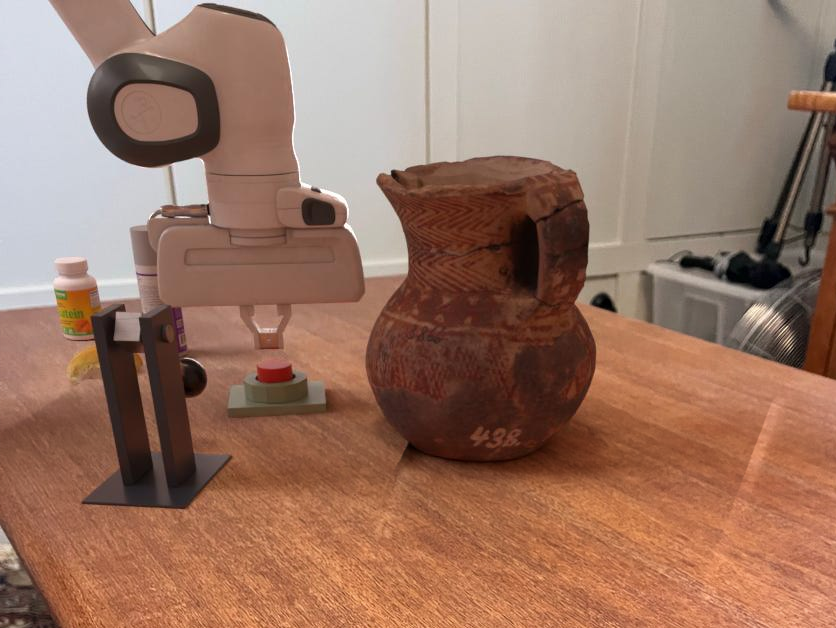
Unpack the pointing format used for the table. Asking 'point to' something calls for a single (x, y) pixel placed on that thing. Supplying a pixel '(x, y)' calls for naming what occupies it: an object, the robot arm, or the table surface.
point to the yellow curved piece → (89, 366)
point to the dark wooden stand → (139, 466)
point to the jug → (485, 308)
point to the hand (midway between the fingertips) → (269, 348)
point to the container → (153, 282)
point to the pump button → (274, 371)
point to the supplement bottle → (76, 297)
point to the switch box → (276, 396)
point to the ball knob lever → (131, 341)
